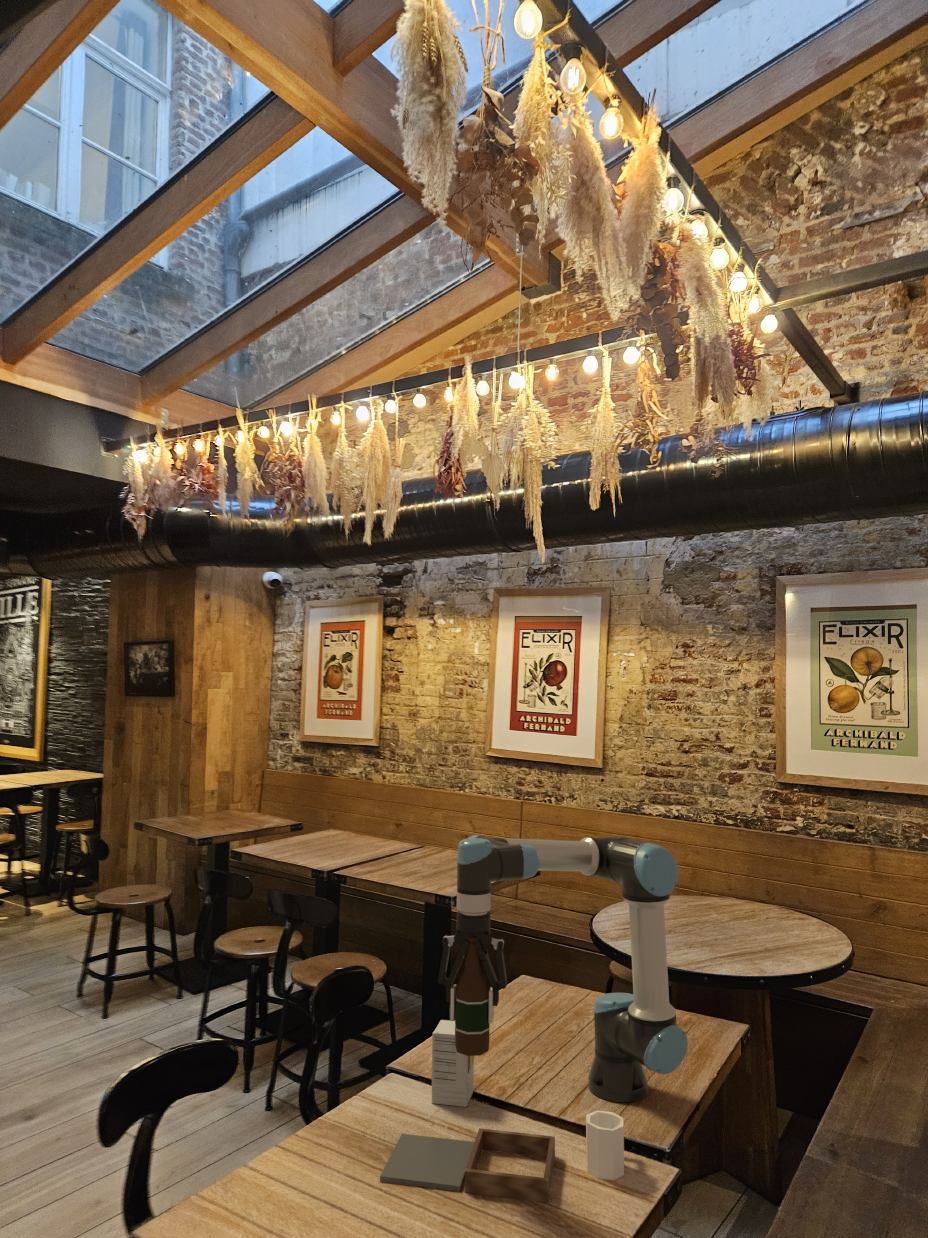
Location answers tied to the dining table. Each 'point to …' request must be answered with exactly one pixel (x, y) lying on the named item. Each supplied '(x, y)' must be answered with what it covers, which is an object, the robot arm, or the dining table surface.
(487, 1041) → the beer bottle
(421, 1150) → the slate pad
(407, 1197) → the dining table surface
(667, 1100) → the dining table surface
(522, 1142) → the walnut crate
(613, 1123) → the mug
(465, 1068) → the supplement box
